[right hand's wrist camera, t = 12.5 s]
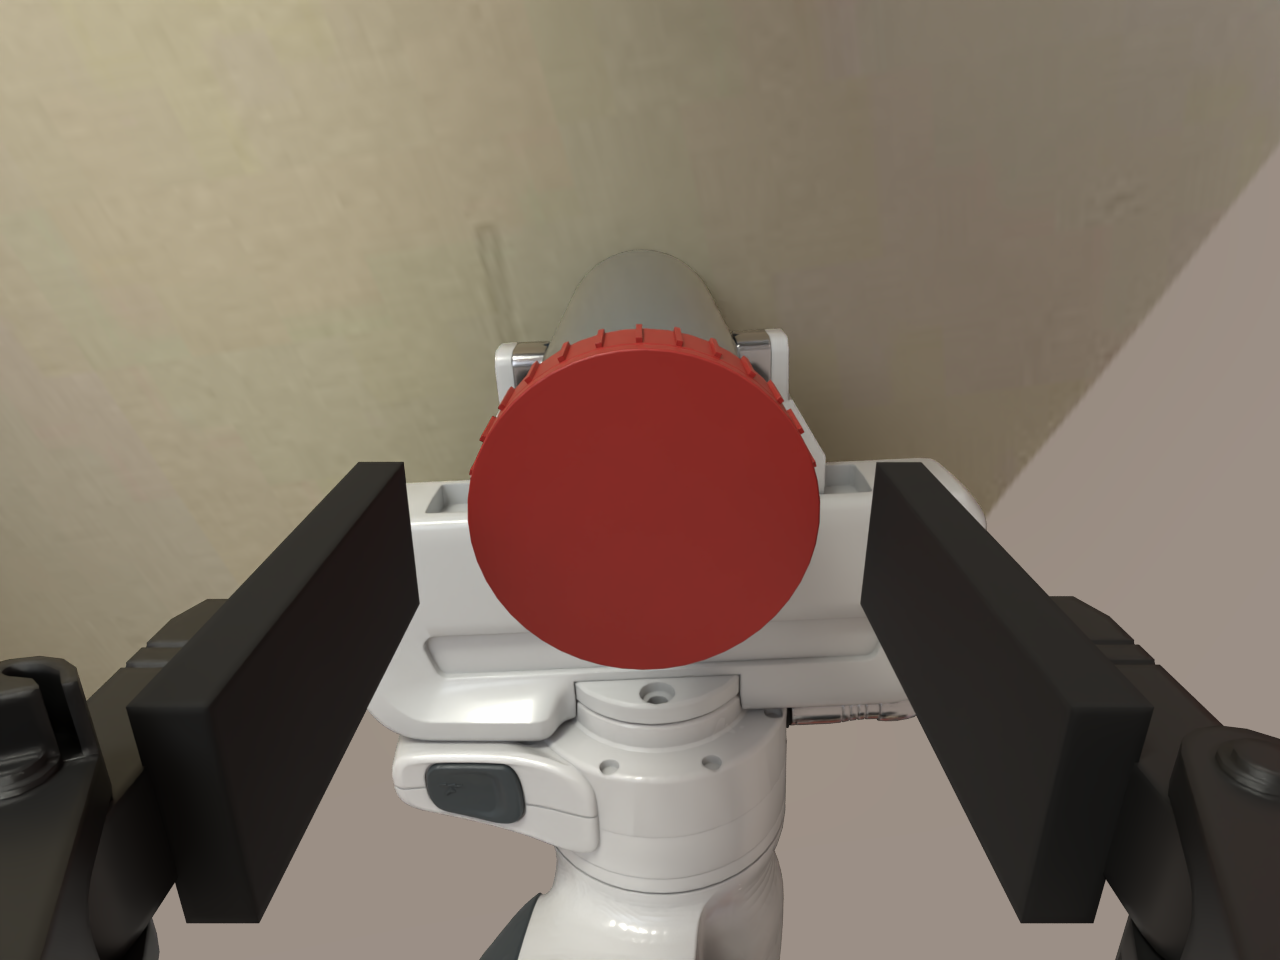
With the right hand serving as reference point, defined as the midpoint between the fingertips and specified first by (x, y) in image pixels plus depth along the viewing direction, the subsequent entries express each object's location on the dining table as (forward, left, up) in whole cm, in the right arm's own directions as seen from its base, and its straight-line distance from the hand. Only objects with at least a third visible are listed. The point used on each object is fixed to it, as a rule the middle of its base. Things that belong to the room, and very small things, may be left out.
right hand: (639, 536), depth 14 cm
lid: (0, 0, 0) cm, 0 cm away
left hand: (-1, +1, -11) cm, 11 cm away
